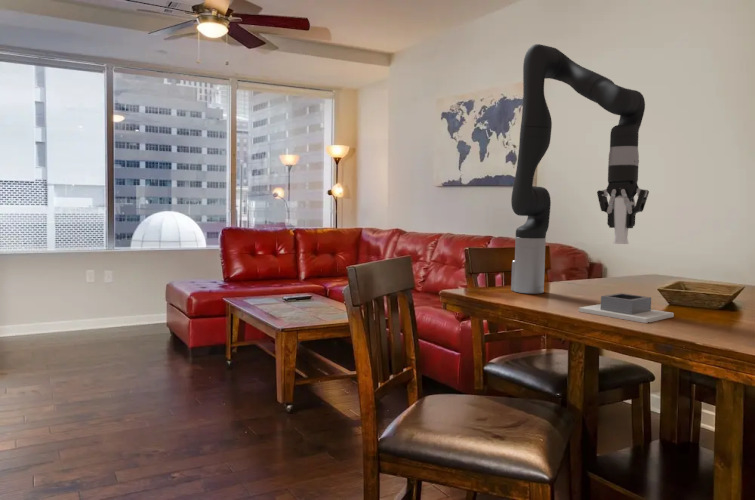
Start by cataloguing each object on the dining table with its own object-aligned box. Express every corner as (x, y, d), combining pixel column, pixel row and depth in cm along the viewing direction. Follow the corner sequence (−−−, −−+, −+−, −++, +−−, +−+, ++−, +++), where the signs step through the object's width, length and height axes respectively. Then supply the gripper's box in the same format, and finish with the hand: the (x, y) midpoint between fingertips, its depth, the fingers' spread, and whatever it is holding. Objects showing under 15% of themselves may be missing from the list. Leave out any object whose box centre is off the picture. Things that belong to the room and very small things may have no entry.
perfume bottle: (631, 244, 159) (634, 187, 158) (614, 243, 160) (616, 187, 158) (628, 243, 163) (630, 188, 162) (611, 243, 164) (613, 188, 163)
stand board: (578, 311, 155) (578, 307, 155) (607, 306, 164) (607, 302, 164) (645, 323, 141) (645, 319, 141) (673, 316, 150) (673, 312, 150)
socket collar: (600, 309, 153) (601, 296, 153) (619, 306, 159) (620, 293, 159) (631, 314, 147) (632, 300, 146) (650, 310, 152) (651, 297, 152)
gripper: (591, 165, 163) (589, 227, 164) (642, 162, 152) (639, 229, 153) (606, 166, 168) (603, 227, 169) (656, 163, 157) (653, 228, 158)
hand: (620, 227), depth 161 cm, fingers closed on perfume bottle, 4 cm apart
